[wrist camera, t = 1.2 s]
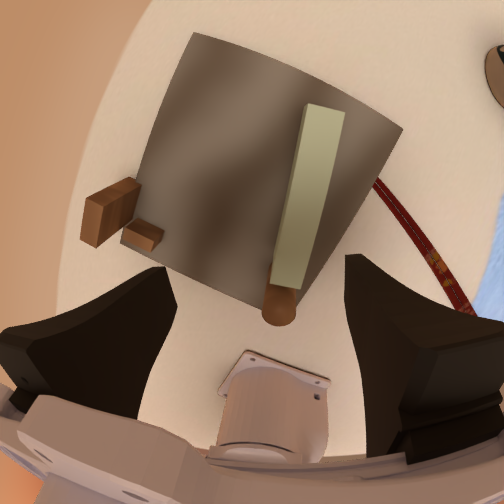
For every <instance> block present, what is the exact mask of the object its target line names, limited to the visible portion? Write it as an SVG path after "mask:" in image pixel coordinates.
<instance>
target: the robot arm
mask: <svg viewBox="0 0 504 504" xmlns="http://www.w3.org/2000/svg"><path fill="white" fill-rule="evenodd" d="M344 302H345V309H346V316H347V322H348V326H349V329H350V333H351V336H352V340H353V344H354V348H355V351H356V355H357V359H358V363H359V367H360V372H361V378H362V387H363V396H364V407H365V421H366V455H367V458H365V459H357V460H348V461H338V462H325V463H318V462H319V461H320V459H321V458H322V456H323V454H324V452H325V449H326V446H327V442H328V409H327V391H326V389H327V388H328V387H330V385H331V382H330V380H327V379H324V378H321V377H318V376H315V375H312V374H309V373H306V372H303V371H300V370H298V369H295V368H292V367H289V366H286V365H284V364H281V363H278V362H276V361H273V360H270V359H268V358H265V357H262V356H260V355H257V354H255V353H252V352H249V351H246V352H244V353H243V355H242V356H241V357H240V359H239V360H238V362H237V363H236V365H235V366H234V368H233V369H232V371H231V372H230V374H229V375H228V376H227V378H226V379H225V381H224V382H223V384H222V385H221V386H220V388H219V389H218V392H217V393H218V395H220V396H222V397H225V398H227V400H226V404H225V408H224V412H223V416H222V421H221V425H220V429H219V433H218V437H217V442H216V446H210V449H209V453H208V456H207V455H202V454H201V453H200V452H199V451H198V450H197V449H196V448H194V447H193V446H192V445H191V444H190V443H189V442H187V441H186V440H185V439H183V438H181V437H179V436H177V435H175V434H173V433H171V432H169V431H167V430H165V429H163V428H160V427H157V426H154V425H151V424H148V423H144V422H141V421H139V420H137V417H138V412H139V408H140V404H141V400H142V397H143V393H144V389H145V386H146V383H147V380H148V377H149V374H150V371H151V369H152V366H153V364H154V362H155V360H156V358H157V356H158V354H159V352H160V350H161V348H162V346H163V343H164V341H165V339H166V337H167V335H168V333H169V331H170V329H171V327H172V324H173V321H174V318H175V314H176V311H177V307H178V306H177V303H176V300H175V297H174V294H173V291H172V287H171V284H170V281H169V278H168V274H167V271H166V267H165V266H163V267H152V268H149V269H147V270H145V271H143V272H141V273H139V274H137V275H135V276H134V277H132V278H130V279H129V280H127V281H125V282H124V283H122V284H120V285H119V286H117V287H115V288H114V289H112V290H110V291H108V292H107V293H105V294H103V295H101V296H99V297H98V298H96V299H94V300H92V301H90V302H88V303H86V304H84V305H82V306H80V307H78V308H75V309H73V310H70V311H68V312H65V313H63V314H60V315H57V316H55V317H52V318H49V319H46V320H42V321H38V322H34V323H30V324H25V325H20V326H14V327H9V328H6V329H5V330H3V331H2V332H1V333H0V364H1V366H2V367H3V369H4V370H5V371H6V373H7V374H8V375H9V377H10V378H11V379H12V381H13V382H14V383H15V385H16V386H17V388H16V390H15V391H13V390H11V389H10V388H9V387H7V386H5V385H3V384H2V383H0V450H1V451H2V452H3V453H5V454H6V455H7V456H8V457H10V458H11V459H12V460H14V461H15V462H16V463H18V464H19V465H20V466H22V467H23V468H25V469H26V470H27V471H29V472H30V473H32V474H33V475H35V476H36V477H38V478H39V479H41V480H42V481H44V484H43V486H42V488H41V490H40V492H39V494H38V496H37V498H36V500H35V502H34V504H496V503H498V502H500V501H502V500H504V412H503V413H502V411H501V408H500V406H499V404H501V402H502V400H503V397H502V395H501V393H500V391H499V389H500V388H501V386H502V384H503V383H504V322H502V321H497V320H492V319H487V318H482V317H477V316H474V315H470V314H467V313H464V312H460V311H457V310H454V309H451V308H449V307H446V306H444V305H441V304H439V303H437V302H434V301H432V300H430V299H428V298H426V297H424V296H422V295H420V294H418V293H416V292H415V291H413V290H411V289H409V288H408V287H406V286H405V285H403V284H401V283H400V282H398V281H397V280H395V279H394V278H393V277H391V276H390V275H388V274H387V273H386V272H384V271H383V270H382V269H380V268H379V267H378V266H376V265H375V264H374V263H373V262H371V261H370V260H369V259H367V258H366V257H365V256H363V255H362V254H350V255H345V290H344ZM253 358H254V359H253Z"/></svg>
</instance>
